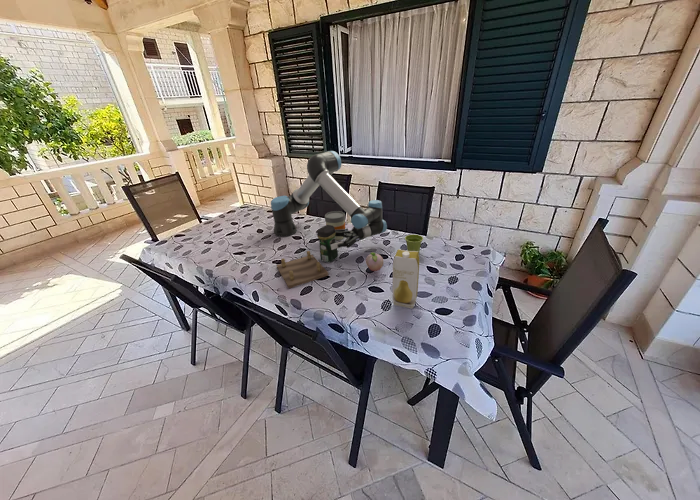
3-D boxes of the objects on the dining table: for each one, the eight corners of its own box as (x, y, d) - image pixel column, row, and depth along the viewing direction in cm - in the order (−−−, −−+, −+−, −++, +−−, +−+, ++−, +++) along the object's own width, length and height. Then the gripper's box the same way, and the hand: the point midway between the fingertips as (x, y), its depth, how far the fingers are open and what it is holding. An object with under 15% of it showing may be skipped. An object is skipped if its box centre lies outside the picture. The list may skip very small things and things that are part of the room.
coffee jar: (329, 253, 152) (325, 222, 143) (340, 256, 148) (337, 225, 139) (317, 260, 145) (313, 229, 136) (329, 264, 141) (325, 232, 132)
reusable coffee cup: (350, 237, 168) (349, 214, 161) (333, 243, 162) (331, 220, 155) (339, 231, 177) (337, 209, 170) (323, 237, 171) (320, 214, 164)
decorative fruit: (386, 273, 130) (386, 255, 125) (370, 277, 128) (369, 259, 123) (379, 264, 138) (378, 247, 133) (364, 267, 136) (363, 250, 131)
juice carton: (391, 306, 109) (391, 254, 97) (395, 294, 115) (396, 244, 104) (414, 311, 105) (418, 257, 94) (417, 298, 112) (421, 247, 100)
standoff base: (276, 267, 141) (274, 257, 139) (312, 256, 149) (311, 247, 146) (289, 288, 124) (286, 277, 121) (328, 275, 132) (327, 264, 129)
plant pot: (401, 253, 146) (401, 238, 142) (410, 246, 152) (411, 232, 148) (416, 258, 140) (417, 243, 136) (425, 251, 146) (426, 237, 142)
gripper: (373, 246, 141) (336, 258, 133) (350, 230, 161) (317, 240, 152) (373, 233, 138) (335, 244, 129) (349, 219, 157) (316, 227, 149)
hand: (325, 242), depth 141 cm, fingers open, 13 cm apart
